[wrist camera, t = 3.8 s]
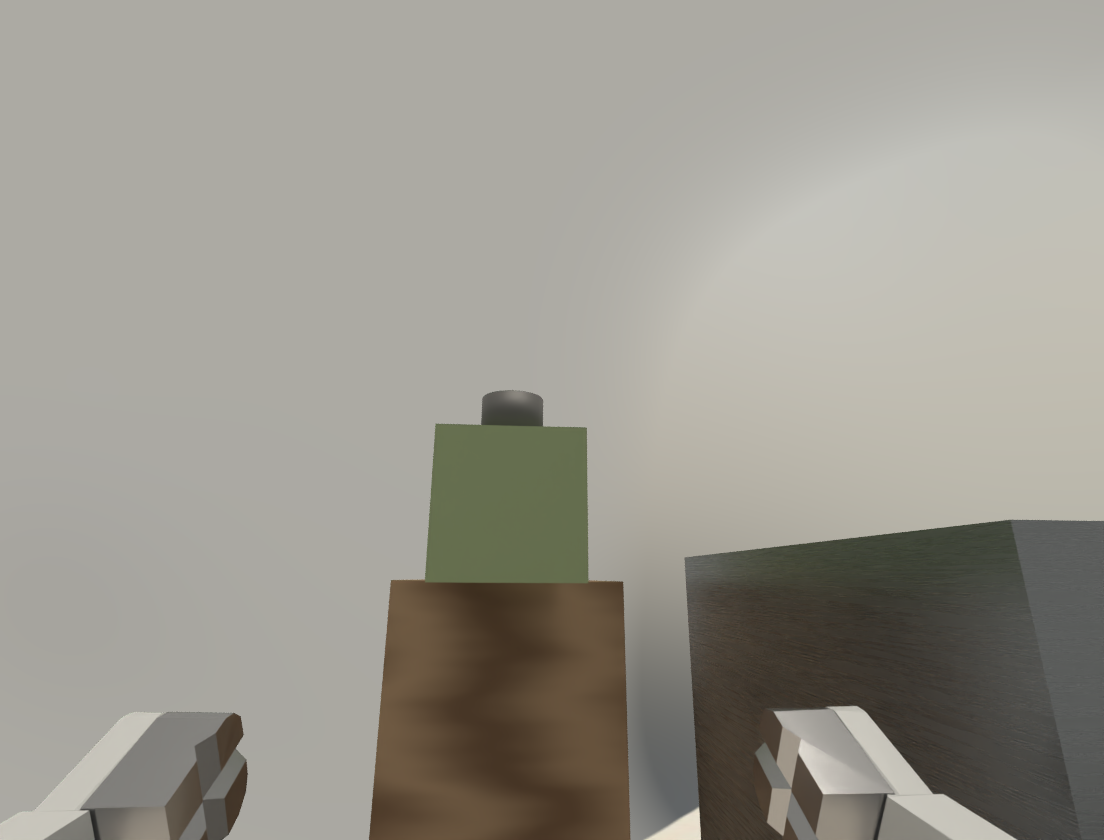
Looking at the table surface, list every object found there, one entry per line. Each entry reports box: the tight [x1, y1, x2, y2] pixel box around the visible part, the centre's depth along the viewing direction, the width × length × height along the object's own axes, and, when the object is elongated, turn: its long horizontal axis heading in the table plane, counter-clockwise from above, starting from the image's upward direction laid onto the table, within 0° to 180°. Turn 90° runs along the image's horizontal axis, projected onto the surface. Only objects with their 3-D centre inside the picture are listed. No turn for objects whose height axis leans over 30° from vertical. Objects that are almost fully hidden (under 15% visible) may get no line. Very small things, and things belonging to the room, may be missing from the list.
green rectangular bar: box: [425, 390, 588, 583], centre depth 23 cm, size 4×19×5 cm, turn 4°
